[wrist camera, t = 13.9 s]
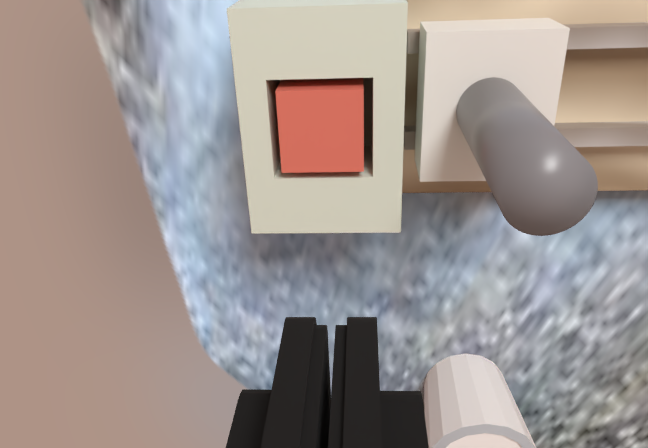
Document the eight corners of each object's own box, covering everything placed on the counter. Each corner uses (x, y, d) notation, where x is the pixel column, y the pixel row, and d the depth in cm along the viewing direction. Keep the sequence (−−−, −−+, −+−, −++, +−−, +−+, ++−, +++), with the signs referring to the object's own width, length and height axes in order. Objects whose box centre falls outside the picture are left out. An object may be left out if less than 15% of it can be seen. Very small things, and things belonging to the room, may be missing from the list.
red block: (363, 139, 28) (363, 171, 25) (291, 140, 28) (281, 172, 25) (362, 66, 27) (363, 89, 23) (286, 68, 27) (275, 91, 23)
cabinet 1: (391, 166, 33) (400, 232, 26) (273, 168, 34) (251, 233, 27) (395, -17, 29) (407, 2, 22) (258, -13, 29) (226, 8, 22)
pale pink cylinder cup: (466, 330, 39) (487, 407, 33) (532, 383, 41) (563, 465, 34) (395, 384, 41) (402, 465, 35) (460, 431, 43) (477, 516, 37)
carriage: (529, 157, 30) (622, 286, 19) (414, 159, 30) (445, 286, 20) (548, 17, 27) (675, 80, 16) (420, 21, 27) (460, 85, 16)
